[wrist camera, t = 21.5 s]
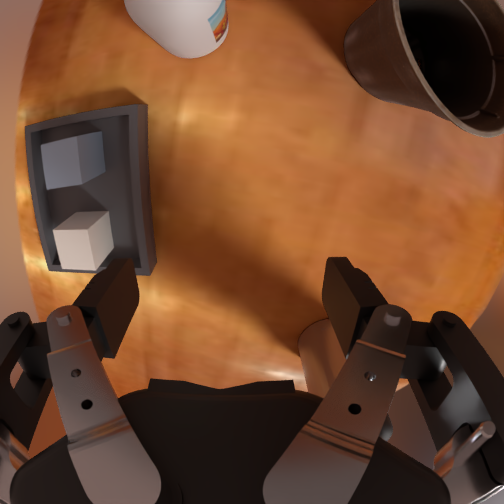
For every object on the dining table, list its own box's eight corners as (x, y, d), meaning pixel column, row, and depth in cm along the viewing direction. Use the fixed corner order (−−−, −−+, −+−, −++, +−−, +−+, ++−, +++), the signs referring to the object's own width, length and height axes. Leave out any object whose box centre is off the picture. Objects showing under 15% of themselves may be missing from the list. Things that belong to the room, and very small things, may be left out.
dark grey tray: (156, 261, 37) (150, 275, 34) (60, 259, 36) (48, 270, 33) (147, 104, 28) (137, 104, 25) (40, 123, 27) (24, 126, 24)
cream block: (108, 210, 32) (87, 229, 27) (114, 247, 35) (95, 270, 29) (76, 212, 32) (52, 230, 27) (82, 246, 34) (62, 268, 29)
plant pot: (440, 125, 30) (530, 147, 15) (333, 119, 30) (407, 128, 15) (428, 17, 22) (510, -4, 8) (317, -4, 22) (371, -68, 8)
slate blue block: (105, 171, 30) (82, 184, 25) (72, 176, 30) (46, 189, 25) (101, 131, 28) (76, 136, 22) (68, 138, 28) (40, 145, 22)
